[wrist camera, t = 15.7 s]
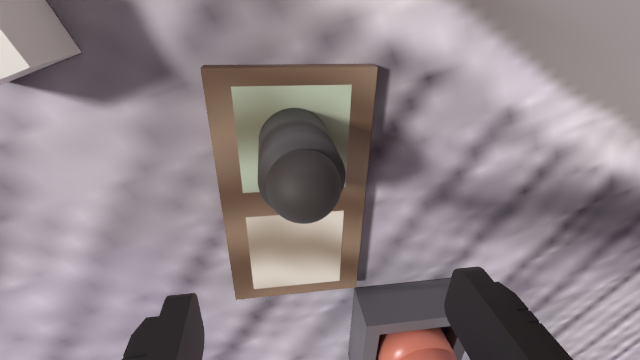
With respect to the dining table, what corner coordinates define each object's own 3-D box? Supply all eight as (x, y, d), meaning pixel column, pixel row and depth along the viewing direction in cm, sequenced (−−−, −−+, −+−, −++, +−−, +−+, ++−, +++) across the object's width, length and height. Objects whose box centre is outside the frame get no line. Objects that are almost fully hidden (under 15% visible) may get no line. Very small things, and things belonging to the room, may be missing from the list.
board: (353, 278, 29) (356, 287, 28) (236, 289, 27) (235, 300, 26) (372, 63, 20) (377, 67, 19) (203, 65, 19) (200, 68, 18)
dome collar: (435, 342, 35) (453, 380, 32) (348, 354, 34) (357, 394, 30) (454, 277, 31) (478, 313, 27) (354, 288, 29) (366, 326, 26)
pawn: (327, 171, 22) (354, 242, 15) (261, 174, 21) (260, 250, 15) (329, 106, 20) (361, 158, 13) (256, 108, 19) (252, 163, 13)
